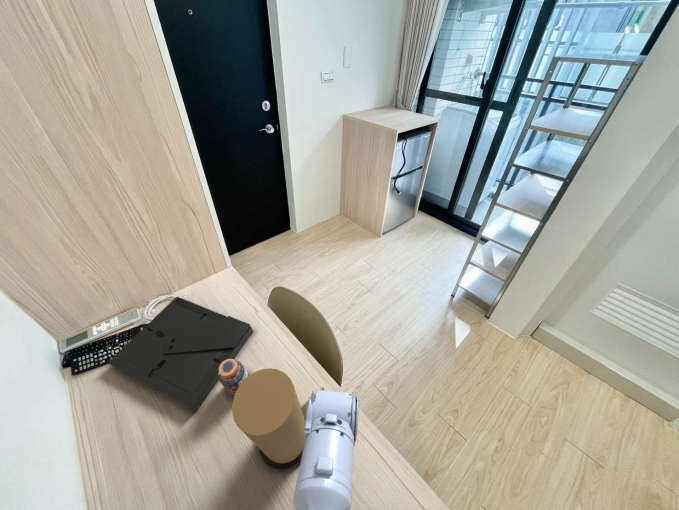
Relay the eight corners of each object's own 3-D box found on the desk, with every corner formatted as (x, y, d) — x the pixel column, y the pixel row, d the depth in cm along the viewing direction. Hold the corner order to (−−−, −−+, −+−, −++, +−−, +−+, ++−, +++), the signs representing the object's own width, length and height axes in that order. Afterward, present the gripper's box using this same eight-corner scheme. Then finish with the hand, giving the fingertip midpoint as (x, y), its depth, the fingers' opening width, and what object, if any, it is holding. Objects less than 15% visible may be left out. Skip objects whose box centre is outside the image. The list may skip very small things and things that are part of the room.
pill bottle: (223, 392, 68) (207, 373, 60) (237, 370, 72) (225, 350, 64) (242, 401, 66) (229, 384, 58) (256, 378, 70) (246, 359, 62)
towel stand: (305, 475, 56) (304, 475, 55) (250, 464, 57) (249, 463, 57) (317, 412, 65) (317, 411, 64) (269, 403, 66) (269, 402, 65)
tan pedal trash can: (338, 416, 63) (338, 374, 46) (278, 476, 55) (250, 452, 38) (312, 382, 68) (303, 334, 52) (254, 432, 60) (221, 395, 44)
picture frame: (253, 331, 80) (180, 302, 88) (250, 324, 77) (175, 294, 85) (195, 412, 65) (114, 367, 72) (189, 407, 62) (104, 360, 70)
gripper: (318, 381, 47) (322, 406, 56) (295, 490, 36) (304, 499, 46) (358, 388, 46) (355, 412, 55) (347, 501, 36) (345, 508, 45)
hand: (335, 452), depth 51 cm, fingers closed
